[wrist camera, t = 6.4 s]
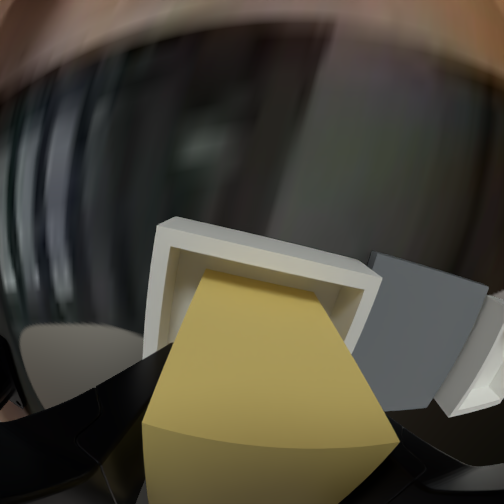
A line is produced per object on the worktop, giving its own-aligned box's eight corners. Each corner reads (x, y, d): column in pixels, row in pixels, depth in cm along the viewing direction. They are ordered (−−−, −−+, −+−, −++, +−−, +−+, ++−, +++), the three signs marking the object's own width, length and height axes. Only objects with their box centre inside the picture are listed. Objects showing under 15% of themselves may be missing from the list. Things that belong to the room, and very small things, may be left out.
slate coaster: (423, 402, 13) (426, 407, 12) (308, 404, 12) (310, 411, 11) (483, 284, 11) (488, 287, 10) (371, 250, 10) (377, 253, 10)
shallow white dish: (302, 396, 12) (311, 429, 10) (155, 369, 11) (141, 401, 9) (357, 259, 10) (382, 277, 8) (175, 216, 10) (157, 225, 7)
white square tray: (485, 388, 13) (499, 403, 11) (432, 396, 12) (448, 417, 10) (526, 306, 11) (545, 317, 9) (484, 294, 11) (509, 308, 9)
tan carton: (282, 376, 11) (310, 524, 4) (189, 359, 11) (149, 510, 4) (313, 291, 10) (400, 442, 3) (205, 268, 10) (141, 422, 3)
